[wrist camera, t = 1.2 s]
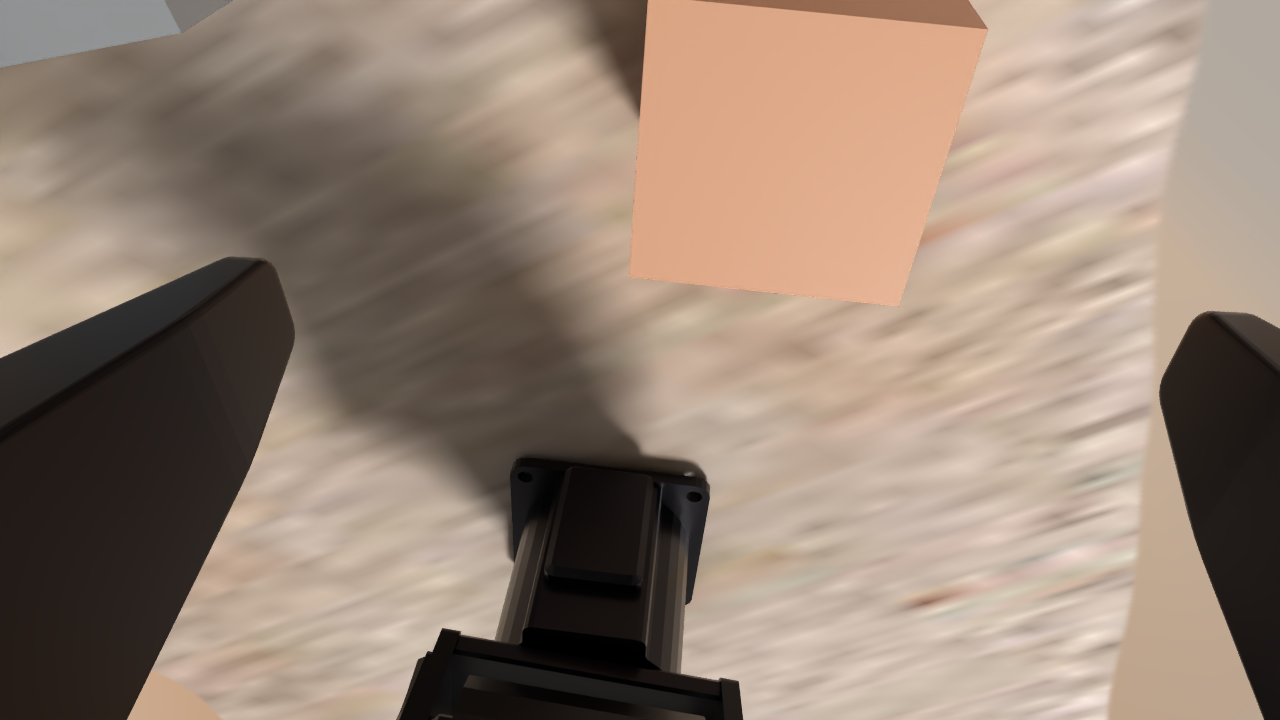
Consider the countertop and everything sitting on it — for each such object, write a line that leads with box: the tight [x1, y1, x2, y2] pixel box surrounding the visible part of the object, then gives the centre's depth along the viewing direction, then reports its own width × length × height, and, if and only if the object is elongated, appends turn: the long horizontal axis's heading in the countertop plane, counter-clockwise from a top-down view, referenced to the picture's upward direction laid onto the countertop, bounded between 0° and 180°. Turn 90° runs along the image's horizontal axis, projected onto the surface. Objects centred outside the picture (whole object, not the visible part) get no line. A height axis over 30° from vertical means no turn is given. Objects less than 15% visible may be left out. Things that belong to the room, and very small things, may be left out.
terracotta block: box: [629, 0, 988, 307], centre depth 16 cm, size 5×5×6 cm
